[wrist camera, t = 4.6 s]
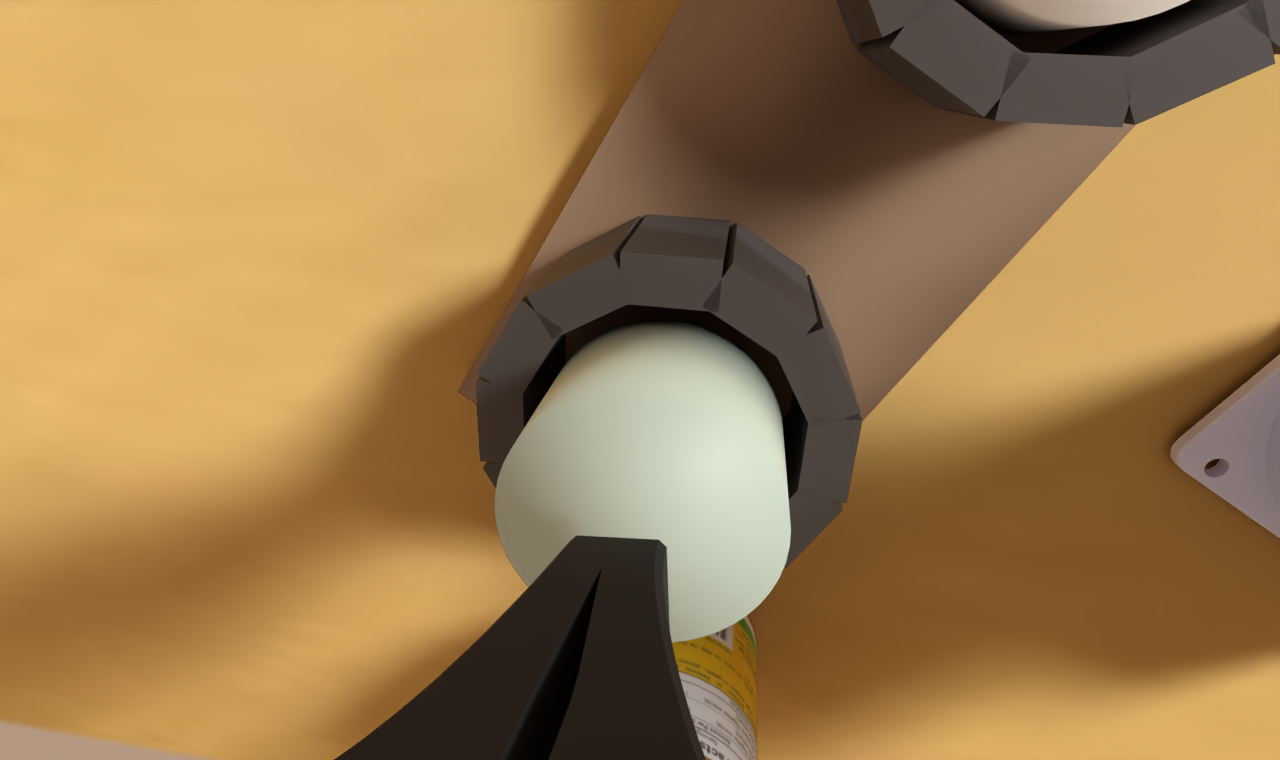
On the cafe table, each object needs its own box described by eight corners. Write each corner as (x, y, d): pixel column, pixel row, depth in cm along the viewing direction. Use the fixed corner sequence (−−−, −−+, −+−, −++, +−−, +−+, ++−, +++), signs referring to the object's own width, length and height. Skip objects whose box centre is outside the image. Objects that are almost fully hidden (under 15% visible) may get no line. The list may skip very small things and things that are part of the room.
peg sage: (833, 408, 14) (856, 506, 11) (694, 565, 16) (679, 685, 13) (626, 270, 14) (587, 331, 11) (509, 450, 16) (447, 547, 13)
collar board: (1394, -183, 12) (1705, -304, 8) (732, 545, 21) (726, 662, 17) (996, -528, 12) (1126, -852, 7) (468, 380, 20) (394, 460, 16)
